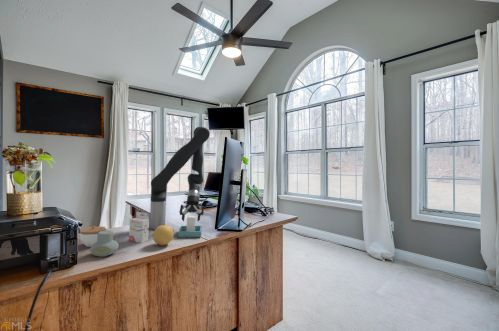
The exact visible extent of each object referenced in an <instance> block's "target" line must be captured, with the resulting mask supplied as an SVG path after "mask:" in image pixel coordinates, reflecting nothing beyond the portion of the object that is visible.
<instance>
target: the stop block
mask: <svg viewBox="0 0 499 331" xmlns="http://www.w3.org/2000/svg"><path fill="white" fill-rule="evenodd" d="M186 226H187V228H186V231H195V226H196V215H187V216H186Z"/></svg>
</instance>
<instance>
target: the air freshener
mask: <svg viewBox="0 0 499 331" xmlns="http://www.w3.org/2000/svg"><path fill="white" fill-rule="evenodd" d="M119 247H120V245H119V242H118V241H117V240H115V239H114V231H112V230H111V229H110V230H108V229H106V231H101V232H99V233H98V237H97V242H96V243H94V244H93V245H92V246H91V247H90V249H89V252H90V253H91V254H92V255H93V256H95V257H99V258H104V257H108V256H111V255H113V254H114V253H116V252H117V251H118V250H119Z"/></svg>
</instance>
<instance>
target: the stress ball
mask: <svg viewBox="0 0 499 331" xmlns="http://www.w3.org/2000/svg"><path fill="white" fill-rule="evenodd" d="M173 238H174V230H173V228H172V227H171V226H170V225H167V224H165V225H161V226H159V227H157V228H156V229H154V231H153V233H152V239H153V241H154V242H155V243H156V244H157V245H159V246H166V245H168V244H169V243H171V241H172V240H173Z"/></svg>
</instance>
